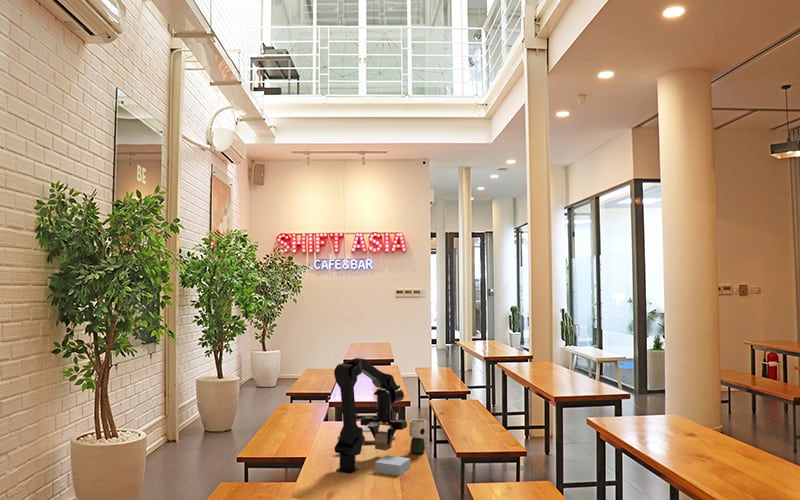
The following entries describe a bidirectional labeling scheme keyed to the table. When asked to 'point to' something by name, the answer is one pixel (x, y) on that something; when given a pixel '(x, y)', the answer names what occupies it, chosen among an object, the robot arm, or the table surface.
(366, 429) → the plate
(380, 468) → the slate block
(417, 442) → the character mug
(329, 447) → the table surface
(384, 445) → the walnut block
